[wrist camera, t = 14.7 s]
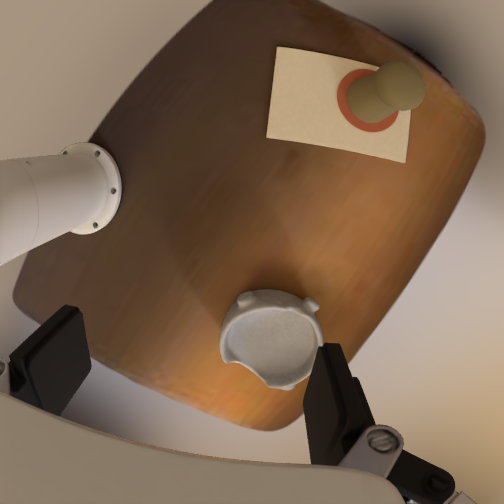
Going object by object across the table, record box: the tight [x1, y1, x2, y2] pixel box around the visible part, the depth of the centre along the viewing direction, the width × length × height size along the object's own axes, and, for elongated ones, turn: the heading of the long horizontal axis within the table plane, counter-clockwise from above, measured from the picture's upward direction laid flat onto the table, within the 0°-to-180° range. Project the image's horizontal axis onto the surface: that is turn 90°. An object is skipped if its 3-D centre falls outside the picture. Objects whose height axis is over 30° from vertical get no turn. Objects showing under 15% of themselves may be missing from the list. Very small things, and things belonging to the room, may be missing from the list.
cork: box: [346, 60, 425, 123], centre depth 27 cm, size 6×6×11 cm
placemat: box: [266, 47, 411, 163], centre depth 33 cm, size 18×12×1 cm, turn 83°
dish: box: [219, 289, 323, 390], centre depth 40 cm, size 14×14×5 cm
